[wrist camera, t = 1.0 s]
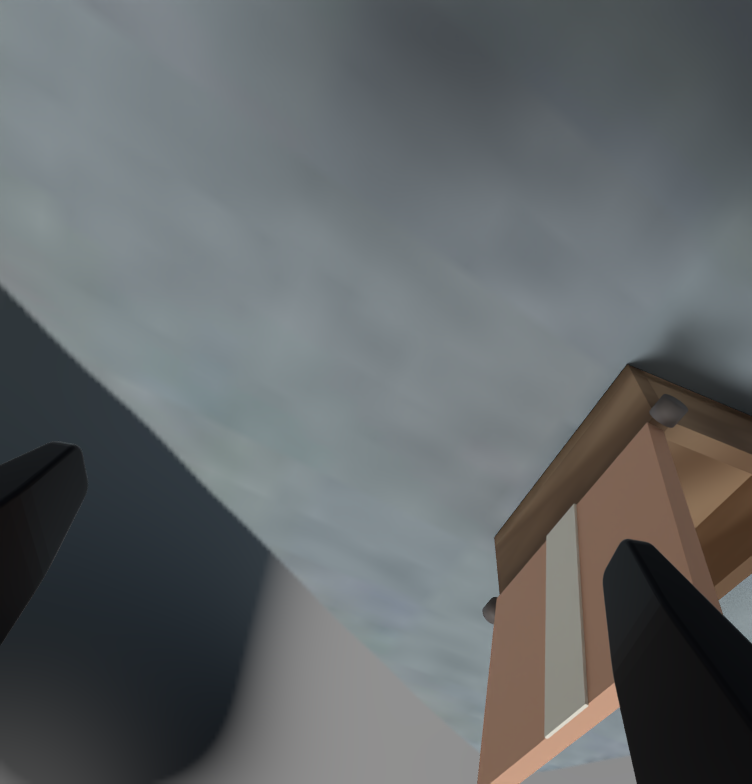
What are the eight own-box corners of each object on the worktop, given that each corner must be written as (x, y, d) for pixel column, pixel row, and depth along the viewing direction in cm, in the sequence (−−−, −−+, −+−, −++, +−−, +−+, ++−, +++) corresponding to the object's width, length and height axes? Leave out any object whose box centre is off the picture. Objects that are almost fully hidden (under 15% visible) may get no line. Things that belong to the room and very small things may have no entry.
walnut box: (813, 420, 22) (885, 495, 19) (623, 597, 29) (649, 678, 26) (630, 342, 21) (668, 405, 18) (478, 544, 28) (483, 620, 25)
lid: (726, 626, 12) (698, 612, 12) (492, 805, 18) (473, 795, 18) (663, 429, 19) (644, 420, 19) (509, 604, 24) (495, 596, 24)
